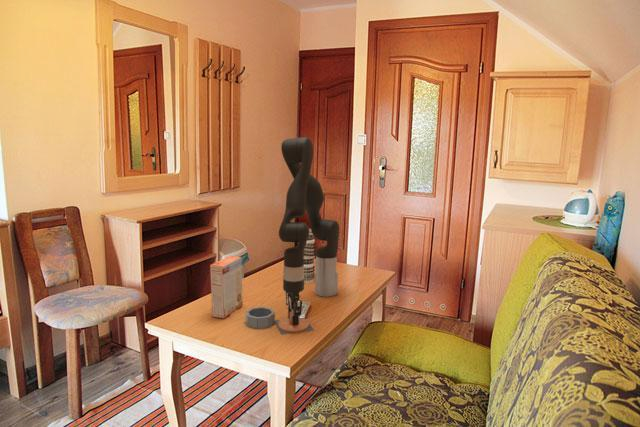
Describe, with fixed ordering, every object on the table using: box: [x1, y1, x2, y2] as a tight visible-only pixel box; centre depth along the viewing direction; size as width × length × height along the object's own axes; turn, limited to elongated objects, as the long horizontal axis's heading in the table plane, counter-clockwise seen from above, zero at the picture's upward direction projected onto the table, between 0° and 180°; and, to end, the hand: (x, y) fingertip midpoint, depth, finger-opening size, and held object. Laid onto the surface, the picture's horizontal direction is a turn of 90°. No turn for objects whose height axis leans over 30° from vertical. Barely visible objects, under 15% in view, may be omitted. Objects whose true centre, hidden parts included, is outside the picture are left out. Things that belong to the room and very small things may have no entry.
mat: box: [274, 317, 315, 336], centre depth 158 cm, size 12×12×1 cm
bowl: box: [245, 306, 276, 330], centre depth 160 cm, size 10×10×4 cm
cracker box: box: [209, 255, 244, 319], centre depth 169 cm, size 14×6×21 cm, turn 160°
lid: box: [278, 311, 310, 333], centre depth 157 cm, size 11×11×5 cm
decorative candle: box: [296, 228, 317, 284], centre depth 208 cm, size 9×9×25 cm
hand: (293, 321), depth 158 cm, fingers open, 5 cm apart
